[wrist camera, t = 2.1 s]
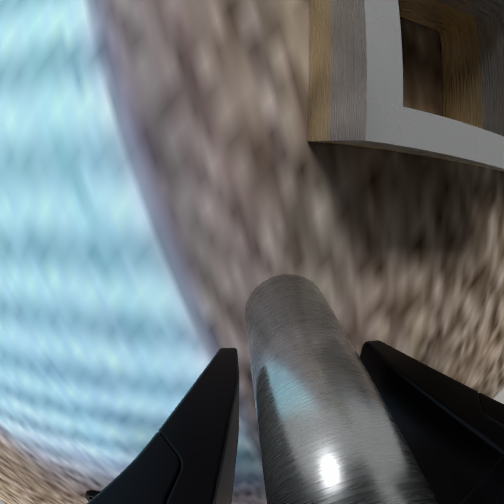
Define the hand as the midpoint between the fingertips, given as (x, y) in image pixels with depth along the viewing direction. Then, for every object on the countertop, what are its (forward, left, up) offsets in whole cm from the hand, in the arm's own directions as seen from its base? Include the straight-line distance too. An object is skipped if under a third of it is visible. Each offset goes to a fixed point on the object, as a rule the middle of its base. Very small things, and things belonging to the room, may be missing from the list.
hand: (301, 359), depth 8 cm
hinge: (+13, -7, -2) cm, 15 cm away
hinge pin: (0, 0, -2) cm, 2 cm away
